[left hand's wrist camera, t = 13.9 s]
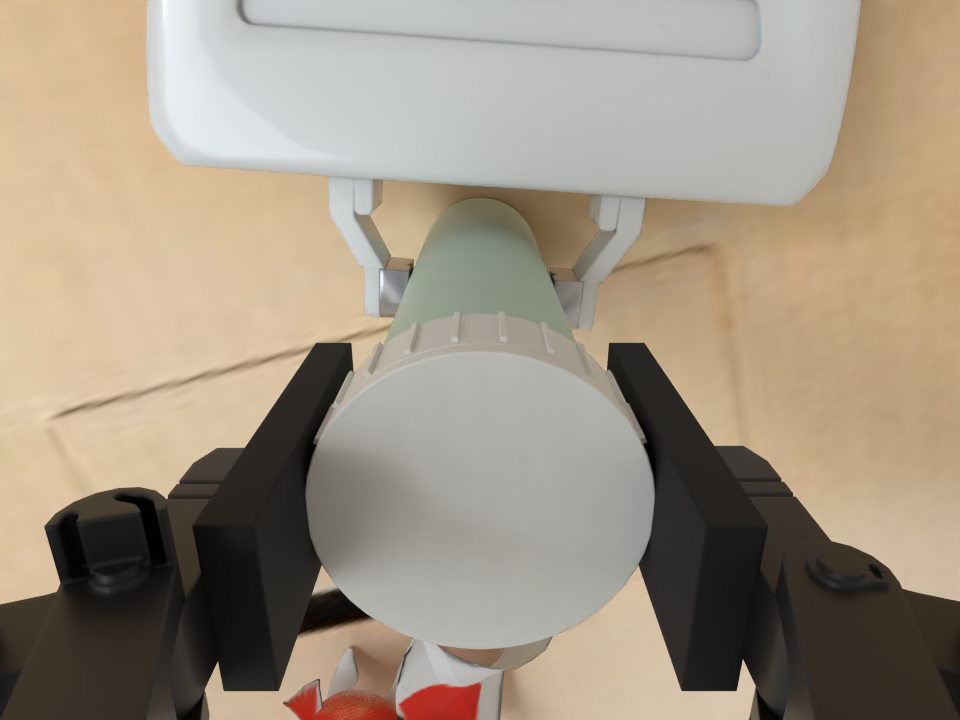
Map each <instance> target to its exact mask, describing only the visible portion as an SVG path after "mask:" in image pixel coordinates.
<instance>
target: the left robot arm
mask: <svg viewBox="0 0 960 720" xmlns="http://www.w3.org/2000/svg"><path fill="white" fill-rule="evenodd" d="M608 370H610V371H611V372H612V374H613V376H614V378H615V380H616V382H617V384H618V386H619V388H620V391H621V393H622V395H623V397H624V399H625V401H626V403H629V405H630V407H631V409H632V411H633V413H634V415H635V417H636V419H637V421H638V423H639V425H640V427H641V429H642V431H643V433H644V435H645V438H646V440H647V443H644V444H643V445H644V448H645V450H646V452H647V454H648V457H649V461H650V464H651V468H652V471H653V475H654V483H655V501H654V510H653V519H652V527H651V535H650V539H649V541H648V544H647V547H646V550H645V553H644V554H643V556H642V558H641V560H640V562H639V567H640V570H641V573H642V576H643V579H644V582H645V585H646V588H647V591H648V594H649V597H650V600H651V602H652V605H653V608H654V611H655V614H656V617H657V620H658V623H659V626H660V629H661V632H662V635H663V638H664V641H665V643H666V646H667V649H668V652H669V655H670V658H671V661H672V664H673V667H674V670H675V673H676V676H677V679H678V682H679V684H680V687H681V690H682V691H737V686H738V681H739V676H740V671H741V665H742V660H744V662H745V664H746V666H747V668H748V670H749V672H750V675H751V677H752V679H753V681H754V683H755V685H756V688H755V693H754V698H753V703H752V708H751V713H750V717H749V720H960V602H959V601H954V600H949V599H944V598H940V597H935V596H930V595H925V594H920V593H916V592H912V591H908V590H905V589H902V587H901V585H900V583H899V581H898V580H897V579H896V577H895V576H894V575H893V573H892V572H891V571H890V569H889V568H888V567H886V566H885V565H883V564H882V563H881V562H879V561H878V560H877V559H875V558H874V557H873V556H871V555H869V554H867V553H864V552H862V551H860V550H858V549H856V548H854V547H851V546H848V545H844V544H840V543H836V542H832V541H831V540H830V539H829V538H828V536H827V535H826V534H825V533H824V531H823V530H822V529H821V528H820V526H819V525H818V524H817V523H816V521H815V520H814V519H813V518H812V516H811V515H810V514H809V513H808V511H807V510H806V509H805V508H804V506H803V505H802V504H801V503H800V501H799V500H798V499H797V498H796V497H793V493H792V491H791V490H790V489H789V488H788V486H787V485H786V484H785V483H784V482H781V478H780V476H779V475H778V474H777V473H776V471H775V470H774V469H773V468H772V466H771V465H770V464H769V463H768V461H766V460H765V459H763V458H762V457H760V456H759V455H757V454H755V453H754V452H752V451H751V450H749V449H747V448H746V447H744V446H714V445H713V443H712V442H711V441H710V439H709V438H708V436H707V435H706V433H705V432H704V430H703V429H702V427H701V426H700V424H699V423H698V421H697V420H696V418H695V417H694V415H693V414H692V413H691V411H690V410H689V408H688V407H687V405H686V404H685V402H684V401H683V399H682V398H681V396H680V395H679V393H678V392H677V390H676V389H675V388H674V386H673V385H672V383H671V382H670V380H669V379H668V377H667V376H666V374H665V373H664V371H663V370H662V368H661V367H660V365H659V364H658V363H657V361H656V360H655V358H654V357H653V355H652V354H651V352H650V351H649V349H648V348H647V346H646V345H645V343H609V352H608V365H607V371H608ZM350 371H352V372H353V359H352V346H351V343H316V344H315V345H314V347H313V348H312V350H311V351H310V353H309V354H308V356H307V357H306V359H305V360H304V362H303V363H302V365H301V366H300V368H299V369H298V370H297V372H296V373H295V375H294V376H293V378H292V379H291V381H290V382H289V384H288V385H287V387H286V388H285V390H284V391H283V393H282V394H281V396H280V397H279V398H278V400H277V401H276V403H275V404H274V406H273V407H272V409H271V410H270V412H269V413H268V415H267V416H266V418H265V419H264V421H263V422H262V423H261V425H260V426H259V428H258V429H257V431H256V432H255V434H254V435H253V437H252V438H251V440H250V441H249V443H248V444H247V446H246V447H245V448H217V449H215V450H213V451H212V452H210V453H209V454H207V455H206V456H204V457H202V458H201V459H199V460H198V461H196V462H195V463H193V464H192V466H191V467H190V468H189V470H188V471H187V472H186V473H185V475H184V476H183V477H182V478H181V480H180V483H179V484H177V485H176V486H175V487H174V488H173V490H172V491H171V492H170V493H169V495H168V499H165V497H163V496H162V495H161V494H159V493H158V492H157V491H155V490H150V489H145V488H140V487H134V488H117V489H113V490H108V491H104V492H99V493H95V494H93V495H90V496H88V497H85V498H83V499H80V500H78V501H75V502H73V503H72V504H70V505H68V506H67V507H65V508H64V509H62V510H61V511H59V512H57V513H56V514H55V515H54V516H53V517H52V518H51V519H50V521H49V522H48V523H47V524H46V525H45V526H44V527H45V531H46V534H47V538H48V541H49V545H50V548H51V551H52V555H53V558H54V562H55V565H56V569H57V572H58V576H59V579H60V582H61V584H60V586H59V588H58V591H57V592H55V593H51V594H48V595H44V596H39V597H34V598H30V599H25V600H20V601H15V602H10V603H6V604H1V605H0V720H209V710H208V703H207V698H206V693H205V687H206V685H207V683H208V681H209V679H210V677H211V675H212V672H213V670H214V668H215V666H216V664H217V662H218V663H219V669H220V674H221V679H222V684H223V689H224V691H279V689H280V686H281V683H282V680H283V677H284V674H285V671H286V668H287V665H288V662H289V659H290V656H291V653H292V650H293V648H294V645H295V642H296V639H297V636H298V633H299V630H300V627H301V624H302V621H303V618H304V615H305V612H306V609H307V607H308V604H309V601H310V598H311V595H312V592H313V589H314V586H315V583H316V580H317V577H318V574H319V571H320V569H321V566H322V563H321V561H320V559H319V557H318V556H317V554H316V551H315V549H314V546H313V543H312V540H311V537H310V531H309V523H308V515H307V505H306V496H305V487H306V478H307V473H308V469H309V465H310V462H311V458H312V455H313V453H314V451H315V448H316V446H317V445H316V444H313V441H314V439H315V437H316V435H317V433H318V431H319V428H320V426H321V424H322V422H323V420H324V418H325V416H326V414H327V412H328V410H329V408H330V406H331V404H333V403H334V401H335V399H336V397H337V395H338V393H339V391H340V389H341V387H342V385H343V383H344V381H345V379H346V377H347V375H348V373H349V372H350Z"/></svg>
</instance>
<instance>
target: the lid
mask: <svg viewBox="0 0 960 720" xmlns="http://www.w3.org/2000/svg"><path fill="white" fill-rule="evenodd" d="M644 443H647V440H646V438H645V435H644V433H643V431H642V429H641V427H640V425H639V423H638V421H637V419H636V417H635V415H634V413H633V411H632V409H631V407H630V405H629V403H626V401H625V399H624V397H623V395H622V393H621V391H620V388H619V386H618V384H617V382H616V380H615V378H614V376H613V374H612V372H611V371H610V370H608V371H606V372H605V371H604V370H603V368H602V367H601V366H600V365H599V364H598V363H597V362H596V360H595V359H594V358H593V357H591V356H590V355H589V354H588V353H587V351H586V348H585V346H584V344H582V343H581V342H579V343H578V344H576V343H574V342H573V341H571V340H569V339H568V338H566V337H565V336H563V335H562V334H560V333H558V332H556V331H553V330H551V329H549V328H548V324H547V323H545V322H541V324H537V323H534V322H531V321H527V320H524V319H521V318H515V317H510V316H505V312H501V311H499V313H498V315H495V314H466V315H461V312H460V311H459V312H454V316H450V317H445V318H440V319H436V320H433V321H430V322H427V323H424V324H421V325H419V324H418V322H415V323H413V324H412V325H411V329H409V330H407V331H405V332H403V333H401V334H399V335H397V336H396V337H394V338H392V339H391V340H389V341H388V342H386V343H385V344H383V345H382V344H381V343H380V342H379V343H378V344H377V345H375V348H374V350H373V352H372V354H371V355H370V356H369V357H368V358H367V359H366V360H365V361H364V362H363V363H362V364H361V366H360V367H359V368H358V369H357V370H356V371H355V372H352V371H350V372H349V373H348V375H347V377H346V379H345V381H344V383H343V385H342V387H341V389H340V391H339V393H338V395H337V397H336V399H335V401H334V403H333V404H331V406H330V408H329V410H328V412H327V414H326V416H325V418H324V420H323V422H322V424H321V426H320V428H319V431H318V433H317V435H316V437H315V439H314V441H313V444H316V445H317V446H316V448H315V451H314V453H313V455H312V458H311V462H310V465H309V469H308V473H307V478H306V487H305V496H306V505H307V515H308V523H309V531H310V537H311V540H312V543H313V546H314V549H315V551H316V554H317V556H318V557H319V559H320V561H321V563H322V565H323V567H324V569H325V570H326V572H327V573H328V575H329V576H330V577H331V579H332V580H333V582H334V583H335V584H336V586H337V587H338V588H339V589H340V590H341V591H342V592H343V593H344V594H345V595H346V596H347V597H348V599H349V600H350V601H352V602H353V603H354V604H355V605H356V606H358V607H359V608H360V609H361V610H363V611H364V612H365V613H366V614H368V615H369V616H371V617H372V618H374V619H376V620H377V621H379V622H380V623H382V624H384V625H386V626H388V627H390V628H392V629H394V630H396V631H398V632H400V633H402V634H405V635H407V636H410V637H413V638H415V639H418V640H421V641H425V642H429V643H433V644H437V645H442V646H448V647H455V648H465V649H495V648H506V647H512V646H519V645H524V644H528V643H532V642H535V641H539V640H543V639H545V638H548V637H551V636H553V635H556V634H559V633H561V632H563V631H565V630H567V629H569V628H571V627H573V626H575V625H577V624H579V623H581V622H582V621H584V620H585V619H587V618H588V617H590V616H591V615H593V614H594V613H596V612H597V611H598V610H599V609H601V608H602V607H603V606H604V605H605V604H606V603H608V602H609V601H610V600H611V599H612V598H613V597H614V596H615V595H616V594H617V593H618V592H619V591H620V589H621V588H622V587H623V586H624V585H625V584H626V582H627V581H628V580H629V578H630V577H631V575H632V574H633V572H634V571H635V570H636V568H637V566H638V564H639V562H640V560H641V558H642V556H643V554H644V553H645V550H646V547H647V544H648V541H649V539H650V535H651V527H652V519H653V510H654V501H655V483H654V475H653V471H652V468H651V464H650V461H649V457H648V454H647V452H646V450H645V448H644V445H643V444H644Z"/></svg>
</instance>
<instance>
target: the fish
mask: <svg viewBox="0 0 960 720" xmlns="http://www.w3.org/2000/svg"><path fill="white" fill-rule="evenodd" d="M552 637H553V636H551V637H548V638H545V639H543V640H539V641H535V642H532V643H528V644H524V645H519V646H512V647H506V649H505V651H504V652H503V654H502V655H501V656H500V658H499V659H498V660H497V661H496V662H495V663H494V664H493V665H492V666H490V667H486V666H482V665H479V664H476V663H472V662H469V661H466V660H464V659H462V658H460V657H457V656H455V655H453V654H451V653H449V652H447V651H445V650H443V649H441V648H440V647H439V646H437V645H436V644H433V643H429V642H425V641H421V640H418V639H415V638H412V640H411V642H410V644H409V646H408V648H407V650H406V653H405V655H404V657H403V659H402V662H401V665H400V667H399V670H398V673H397V676H396V678H395V681H394V683H393V685H392V687H391V689H390V691H389V692H388V693H387V694H386V696H385V697H384V698H382V697H380V696H378V695H376V694H374V693H371V692H366V691H359V690H352V688H353V687H354V685H355V684H356V682H357V680H358V669H357V665H356V662H355V658H354V653H353V650H352V649H351V648H348V649H346V650H345V652H344V654H343V656H342V658H341V660H340V662H339V665H338V667H337V669H336V671H335V673H334V676H333V678H332V682H331V685H330V691H329V694H328V697H327V699H326V700H324V701H323V702H322V698H321V692H320V679H317V680H315V681H313V682H311V683H309V684H307V685H306V686H304V687H303V688H302V689H301V690H300V691H299V692H297V693H296V694H295V695H294V696H293V697H291V698H290V699H289V700H287V701H285V702H283V704H284V705H285V706H286V707H289V708H290V710H291V711H292V712H294V713H295V714H296V716H297V717H298V718H299V720H500V713H501V699H502V687H503V675H504V670H507V669H517V668H519V667H521V666H522V665H524V664H526V663H528V662H530V661H532V660H533V659H534V658H536V657H537V656H538V655H540V654H541V653H542V652H544V651H545V650H546V648H547V646H548V644H549V643H550V641H551V639H552Z"/></svg>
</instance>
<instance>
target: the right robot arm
mask: <svg viewBox="0 0 960 720" xmlns="http://www.w3.org/2000/svg"><path fill="white" fill-rule="evenodd" d="M860 8H861V0H147V20H146V64H147V91H148V107H149V118H150V122H151V126H152V129H153V131H154V133H155V134H156V136H157V137H158V138H159V139H160V141H161V142H162V143H163V145H164V146H165V147H166V148H167V150H168V151H169V152H170V153H171V154H172V156H173V157H174V158H175V159H176V160H177V161H178V162H179V163H180V164H182V165H184V166H189V167H202V168H217V169H231V170H246V171H261V172H276V173H290V174H305V175H320V176H328V186H329V214H330V216H331V218H332V219H333V221H334V223H335V224H336V226H337V228H338V229H339V231H340V233H341V234H342V236H343V238H344V240H345V241H346V243H347V245H348V246H349V248H350V250H351V251H352V253H353V255H354V257H355V258H356V260H357V262H358V263H359V265H360V267H364V268H365V314H366V316H369V317H378V318H380V317H387V318H394V317H395V315H396V312H397V310H398V307H399V305H400V302H401V300H402V297H403V295H404V292H405V290H406V287H407V285H408V282H409V280H410V277H411V275H412V272H413V270H414V259H406V258H395V257H391V255H390V253H389V251H388V249H387V247H386V245H385V243H384V241H383V240H382V238H381V236H380V234H379V232H378V230H377V228H376V226H375V224H374V222H373V220H372V218H371V217H370V214H371V213H372V212H373V211H374V210H375V209H376V208H377V207H378V206H379V205H380V204H381V203H382V187H383V180H393V181H408V182H423V183H438V184H452V185H467V186H482V187H497V188H511V189H526V190H541V191H556V192H570V193H585V194H591V197H590V206H589V215H588V217H589V218H590V219H591V220H592V221H593V222H594V223H595V224H596V225H597V227H598V228H599V231H598V232H597V233H596V235H595V236H594V238H593V239H592V241H591V242H590V243H589V245H588V246H587V248H586V249H585V250H584V252H583V253H582V255H581V256H580V257H579V259H578V260H577V262H576V263H575V265H574V266H573V267H572V268H573V269H560V268H550V269H549V276H550V278H551V281H552V283H553V286H554V288H555V291H556V293H557V296H558V298H559V301H560V303H561V306H562V308H563V311H564V313H565V316H566V318H567V321H568V323H569V326H570V328H571V330H587V331H590V330H591V329H592V325H593V321H594V314H595V307H596V299H597V292H598V285H599V283H603V282H604V280H605V279H606V278H607V277H608V275H609V274H610V273H611V271H612V270H613V269H614V268H615V266H616V265H617V264H618V263H619V261H620V260H621V259H622V257H623V256H624V255H625V254H626V252H627V251H628V250H629V249H630V247H631V246H632V245H633V244H634V242H635V241H636V240H637V238H638V237H639V236H640V235H641V229H642V223H643V217H644V211H645V204H646V198H659V199H674V200H688V201H703V202H718V203H733V204H747V205H762V206H778V207H789V206H793V205H795V204H796V203H798V202H799V201H800V200H801V199H802V198H804V197H805V196H806V195H807V194H808V193H809V192H810V191H811V190H812V189H813V188H814V187H815V186H816V185H817V184H818V183H819V182H820V181H821V180H822V179H823V178H824V176H825V175H826V173H827V172H828V170H829V167H830V164H831V162H832V159H833V156H834V152H835V149H836V145H837V141H838V137H839V133H840V129H841V124H842V120H843V115H844V111H845V106H846V101H847V96H848V91H849V85H850V80H851V74H852V68H853V61H854V55H855V48H856V41H857V34H858V26H859V17H860Z"/></svg>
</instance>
